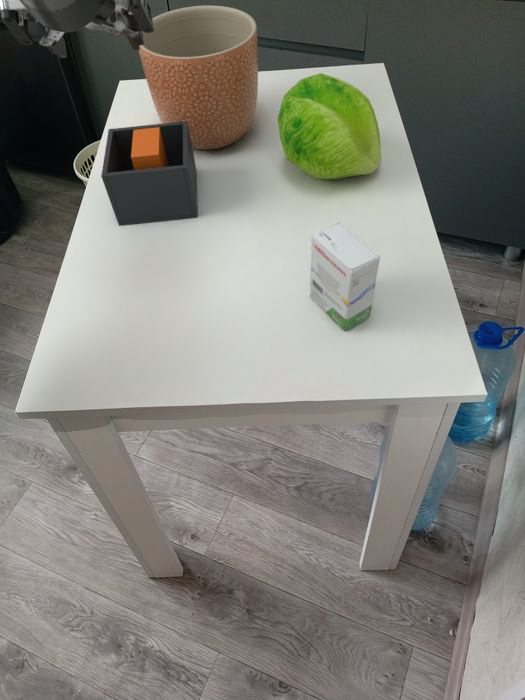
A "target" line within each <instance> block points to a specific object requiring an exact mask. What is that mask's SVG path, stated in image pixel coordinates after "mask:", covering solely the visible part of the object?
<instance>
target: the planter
mask: <svg viewBox="0 0 525 700" xmlns="http://www.w3.org/2000/svg"><path fill="white" fill-rule="evenodd" d="M152 19H153V27H154V31H153V32H152V33H145V32H143V31H142V32H143V40H144V44H143V45H140V50H138V54H139V57H140V58H139V59H140V62H141V66H142V69H143V72H144V76H145V79H146V84H147V86H148V90H149V93H150V96H151V100H152V103H153V105H154V108H155V111H156V113H157V116H158V118H159V121H160V124H164V123H174V122H183V121H188V127H189V132H190V138H191V143H192V149H196V150H215V149H216V150H217V149H221V148H224V147H227V146H229V145H232V144H233V143H235V142H236V141H238V140H239V139H240V138H242V137H243V136H244V135H245V134H246V133H247V132H248V130H249V129H250V127H251V126H252V125H253V122H254V120H255V117H256V113H257V104H258V95H259V94H258V93H259V91H258V90H259V51H258V50H259V48H258V30H257V29H258V28H257V23H256V20H255V19H254V18H253V16H251V15H250V14H249V13H248V12H245V11H242V10H241V9H238V8H235V7H231V6H230V7H229V6H223V5H194V6H186V7H181V8H177V9H173V10H170V11H167V12H163V13H161V14H159V15H157V16H154V17H152Z"/></svg>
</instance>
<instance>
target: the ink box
mask: <svg viewBox="0 0 525 700" xmlns="http://www.w3.org/2000/svg"><path fill="white" fill-rule="evenodd" d="M310 247H311V249H310V251H311V252H310V281H309V296H310V297H311V299H312V300H313V301H315V303H316V304H317V305H318V306H319V307H320V308H321V309H322V310H323V311H324V312H325V313H326V314H327V315H328V316H329V317H330V318H331V319H332V320H333V321H334V322H335V323H336V325H338V326H339V327H340V328H341V329H342V330H343V331H346V332H347V331H349V330H350V329H352V328H354V327H355V326H357V325H359V324H361V323H362V322H364V321H365V320H367V319H368V318H370V317H371V313H372V308H373V307H372V306H373V301H374V295H375V289H376V284H377V283H376V282H377V277H378V272H379V266H380V260H381V256H380V255H379V254H378V253H377V252H376V251H374V250H373V249H372V248H371V247H369V246H368V245H367V244H366V243H365V242H364V241H362V240H361V239H360V238H359V237H358V236H357V235H355V234H354V233H353V232H352V231H351V230H350V229H349V228H348V227H346V226H345V225H344V224H343V223H342V222H337V223H335V224H333V225H331V226H328V227H327V228H324V229H323V230H320V231H318V232H316V233H314V234H312V235H311V245H310Z"/></svg>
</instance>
